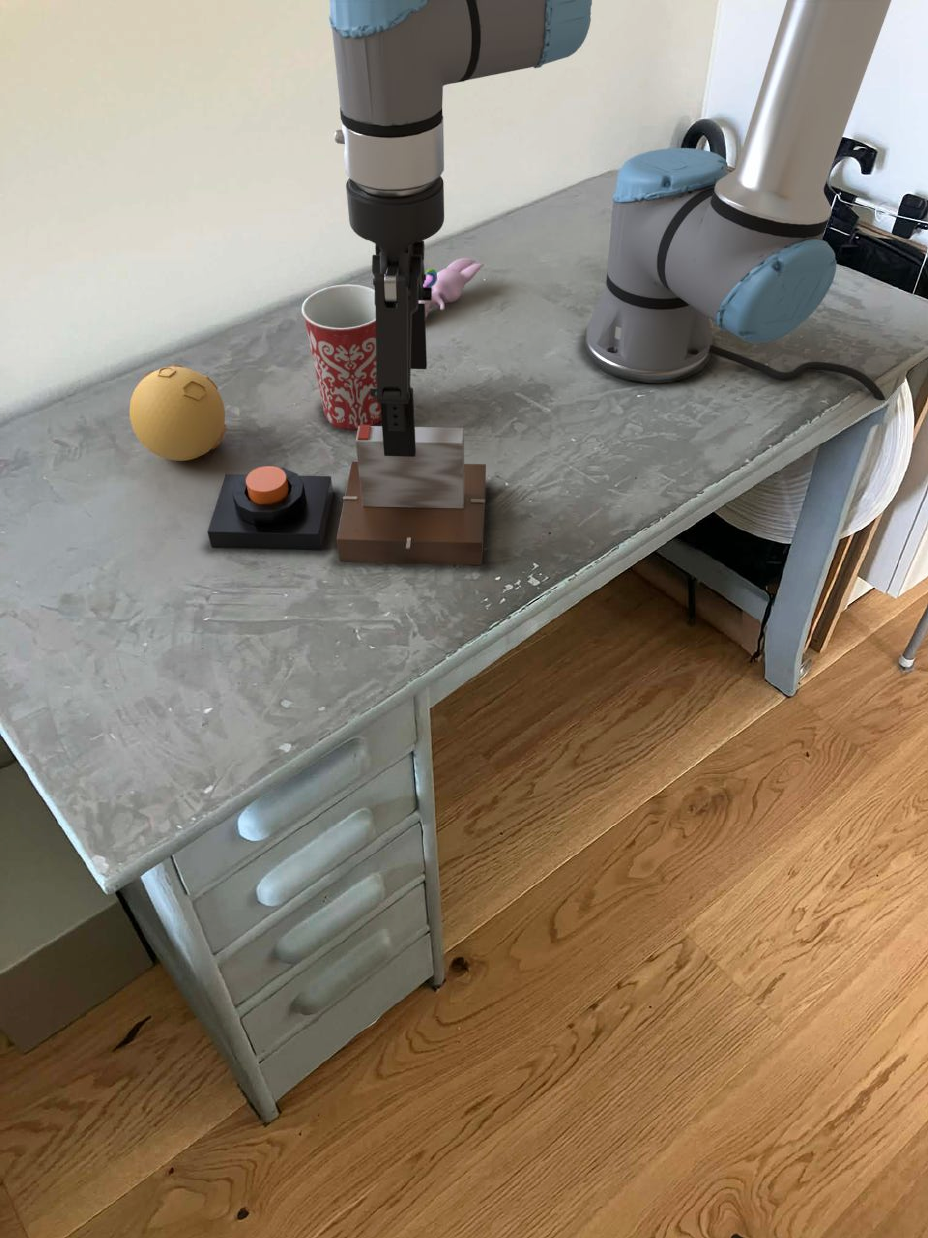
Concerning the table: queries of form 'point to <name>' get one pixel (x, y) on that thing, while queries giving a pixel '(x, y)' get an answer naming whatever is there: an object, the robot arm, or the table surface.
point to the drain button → (267, 485)
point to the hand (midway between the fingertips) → (406, 408)
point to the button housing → (272, 515)
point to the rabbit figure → (449, 282)
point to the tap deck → (414, 527)
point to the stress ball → (177, 413)
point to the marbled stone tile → (412, 469)
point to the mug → (344, 352)
